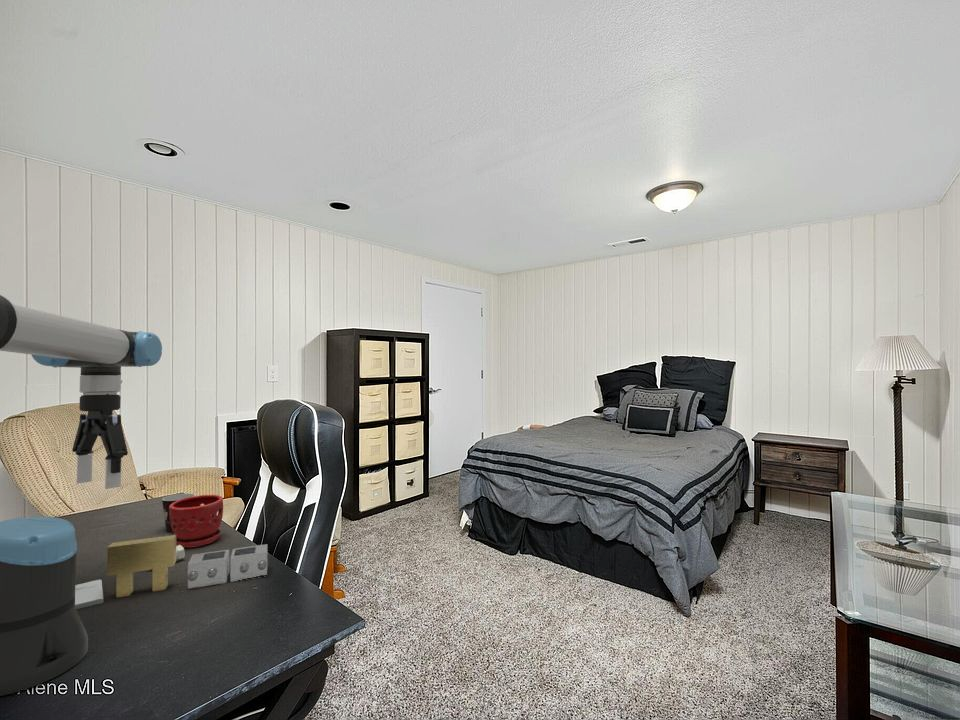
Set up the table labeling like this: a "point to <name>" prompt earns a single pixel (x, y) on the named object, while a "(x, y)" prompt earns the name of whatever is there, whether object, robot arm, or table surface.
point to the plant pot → (196, 520)
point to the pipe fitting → (178, 553)
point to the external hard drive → (88, 594)
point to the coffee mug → (167, 502)
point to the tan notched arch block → (141, 561)
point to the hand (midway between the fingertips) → (98, 485)
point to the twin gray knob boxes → (226, 566)
